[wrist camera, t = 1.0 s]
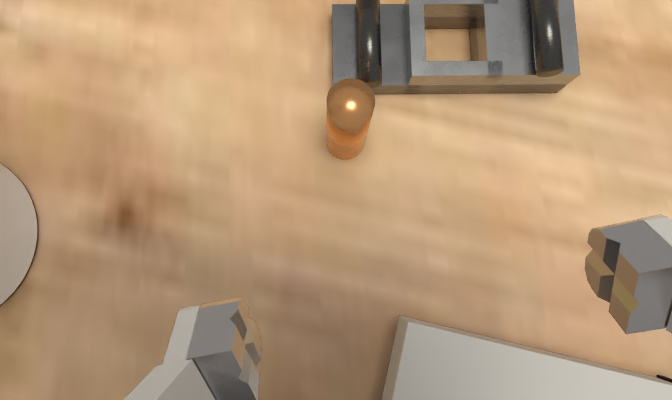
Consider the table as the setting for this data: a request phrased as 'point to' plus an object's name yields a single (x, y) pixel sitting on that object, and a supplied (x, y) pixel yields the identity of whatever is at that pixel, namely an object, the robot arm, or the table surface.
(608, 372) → the disc drive
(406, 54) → the metal clamp fixture
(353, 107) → the copper pin
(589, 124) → the table surface
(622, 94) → the table surface
